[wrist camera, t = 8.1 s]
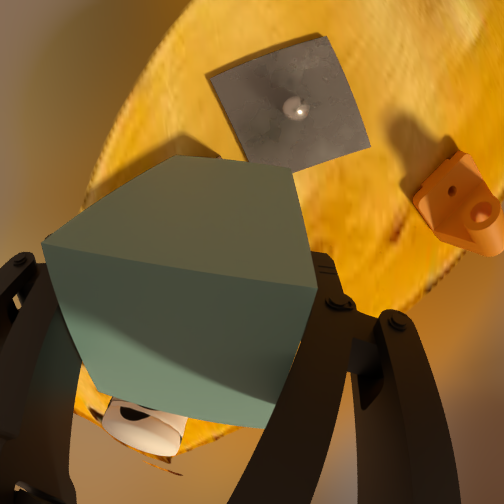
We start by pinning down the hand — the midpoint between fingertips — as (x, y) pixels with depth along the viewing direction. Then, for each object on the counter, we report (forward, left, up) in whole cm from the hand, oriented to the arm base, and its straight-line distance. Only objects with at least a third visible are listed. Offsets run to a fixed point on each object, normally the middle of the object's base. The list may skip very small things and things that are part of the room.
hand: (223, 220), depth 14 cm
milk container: (+36, +32, -20) cm, 52 cm away
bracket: (-23, +12, -20) cm, 33 cm away
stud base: (-6, -4, -20) cm, 21 cm away
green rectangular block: (0, 0, -1) cm, 1 cm away
